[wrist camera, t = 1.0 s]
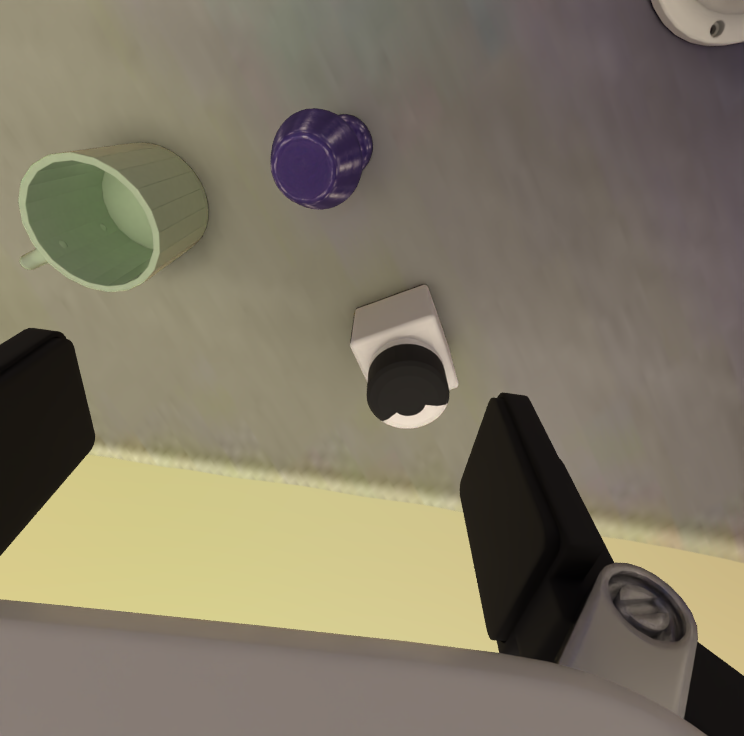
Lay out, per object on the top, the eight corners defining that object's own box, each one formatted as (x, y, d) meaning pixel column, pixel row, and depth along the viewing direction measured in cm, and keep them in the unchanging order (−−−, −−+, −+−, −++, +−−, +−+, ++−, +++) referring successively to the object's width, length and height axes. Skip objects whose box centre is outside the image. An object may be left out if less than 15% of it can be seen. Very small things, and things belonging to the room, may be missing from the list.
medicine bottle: (353, 308, 40) (342, 377, 30) (426, 282, 39) (441, 345, 28) (380, 369, 43) (379, 450, 33) (449, 347, 42) (470, 425, 32)
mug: (165, 122, 33) (95, 126, 25) (228, 229, 37) (186, 262, 29) (46, 189, 35) (-50, 212, 27) (118, 282, 39) (51, 326, 31)
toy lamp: (317, 180, 34) (269, 231, 20) (304, 114, 32) (239, 118, 18) (376, 171, 34) (370, 217, 20) (367, 103, 32) (353, 98, 17)
